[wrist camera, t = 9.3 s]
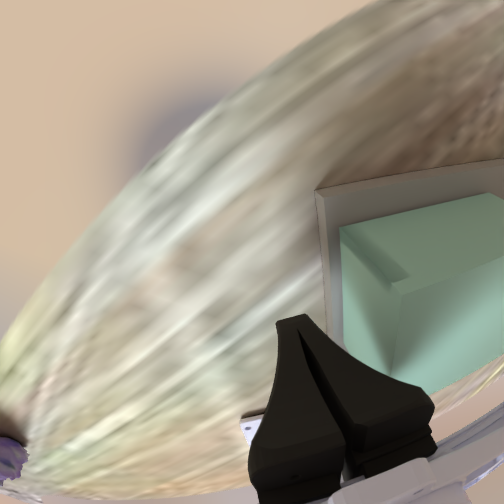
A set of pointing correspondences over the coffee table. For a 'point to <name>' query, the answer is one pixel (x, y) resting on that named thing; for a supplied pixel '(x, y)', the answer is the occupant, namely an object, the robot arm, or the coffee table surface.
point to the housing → (426, 291)
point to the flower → (11, 459)
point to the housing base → (390, 213)
